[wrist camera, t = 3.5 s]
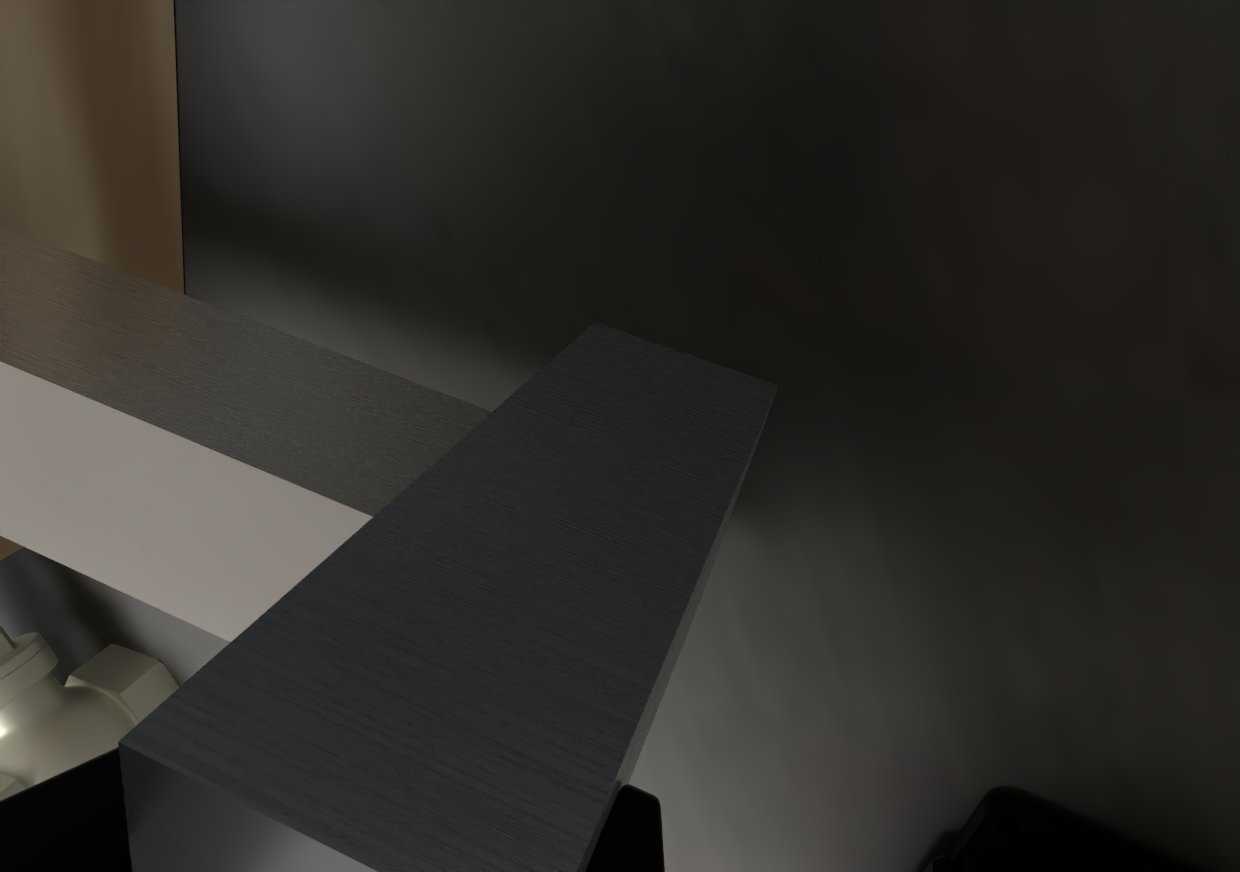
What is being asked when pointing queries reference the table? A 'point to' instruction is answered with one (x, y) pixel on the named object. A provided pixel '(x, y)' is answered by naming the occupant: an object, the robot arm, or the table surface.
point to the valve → (69, 707)
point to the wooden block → (92, 134)
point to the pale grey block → (368, 569)
